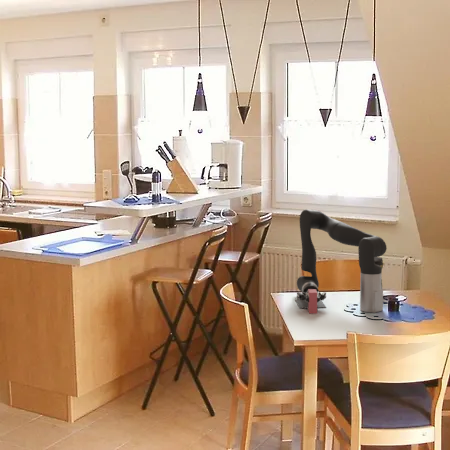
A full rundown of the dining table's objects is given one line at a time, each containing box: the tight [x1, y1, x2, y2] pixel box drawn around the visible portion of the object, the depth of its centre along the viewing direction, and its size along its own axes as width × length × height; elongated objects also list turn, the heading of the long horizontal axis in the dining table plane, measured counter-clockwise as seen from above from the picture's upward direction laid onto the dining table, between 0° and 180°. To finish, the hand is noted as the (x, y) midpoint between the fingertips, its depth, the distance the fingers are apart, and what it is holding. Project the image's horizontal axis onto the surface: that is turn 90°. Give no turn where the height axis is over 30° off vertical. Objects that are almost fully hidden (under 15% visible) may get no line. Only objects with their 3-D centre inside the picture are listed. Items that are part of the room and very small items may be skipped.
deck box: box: [307, 289, 318, 314], centre depth 343 cm, size 6×4×10 cm, turn 178°
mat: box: [294, 298, 327, 309], centre depth 358 cm, size 16×12×1 cm
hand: (313, 299), depth 340 cm, fingers closed on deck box, 3 cm apart
